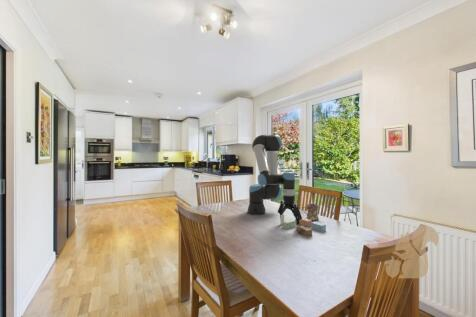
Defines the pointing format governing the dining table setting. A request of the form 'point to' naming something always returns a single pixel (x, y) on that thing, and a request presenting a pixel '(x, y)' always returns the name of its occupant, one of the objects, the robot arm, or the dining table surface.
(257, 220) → the dining table surface
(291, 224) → the sage brick
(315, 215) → the mug
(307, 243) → the dining table surface
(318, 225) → the blue brick
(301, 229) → the walnut brick
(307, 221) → the terracotta brick
